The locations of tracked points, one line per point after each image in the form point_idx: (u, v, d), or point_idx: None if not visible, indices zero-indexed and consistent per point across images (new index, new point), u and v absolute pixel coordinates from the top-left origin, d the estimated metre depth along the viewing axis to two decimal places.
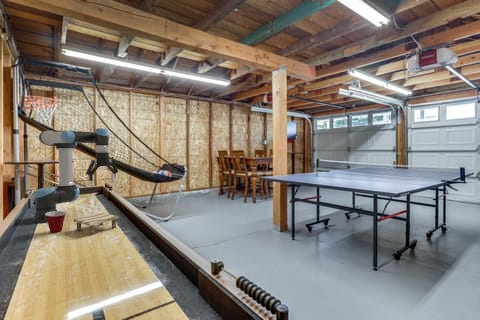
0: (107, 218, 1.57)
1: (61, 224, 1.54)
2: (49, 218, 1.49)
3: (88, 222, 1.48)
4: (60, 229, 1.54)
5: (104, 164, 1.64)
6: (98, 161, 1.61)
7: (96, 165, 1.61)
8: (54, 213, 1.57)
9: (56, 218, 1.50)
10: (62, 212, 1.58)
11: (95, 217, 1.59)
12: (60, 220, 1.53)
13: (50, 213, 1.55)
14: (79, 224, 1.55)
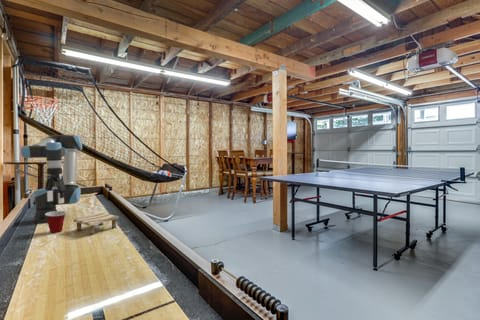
0: (107, 218, 1.57)
1: (61, 224, 1.54)
2: (49, 218, 1.49)
3: (88, 222, 1.48)
4: (60, 229, 1.54)
5: None
6: (50, 177, 1.53)
7: None
8: (54, 213, 1.57)
9: (56, 218, 1.50)
10: (62, 212, 1.58)
11: (95, 217, 1.59)
12: (60, 220, 1.53)
13: (50, 213, 1.55)
14: (79, 224, 1.55)
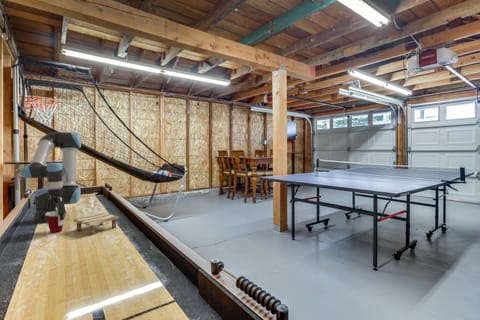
0: (107, 218, 1.57)
1: None
2: (49, 218, 1.49)
3: (88, 222, 1.48)
4: (60, 229, 1.54)
5: None
6: (51, 197, 1.54)
7: None
8: (54, 213, 1.57)
9: (56, 218, 1.50)
10: None
11: (95, 217, 1.59)
12: None
13: (50, 213, 1.55)
14: (79, 224, 1.55)
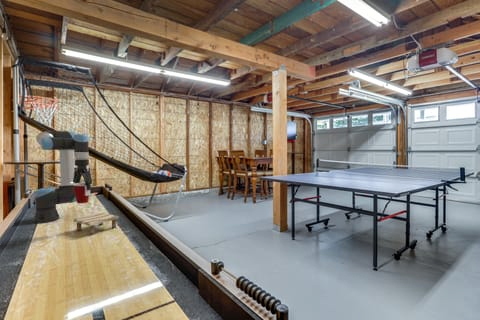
0: (107, 218, 1.57)
1: None
2: (76, 188, 1.51)
3: (88, 222, 1.48)
4: (86, 200, 1.55)
5: (80, 172, 1.54)
6: None
7: None
8: (80, 184, 1.59)
9: (82, 188, 1.52)
10: None
11: (95, 217, 1.59)
12: None
13: (76, 184, 1.57)
14: (79, 224, 1.55)
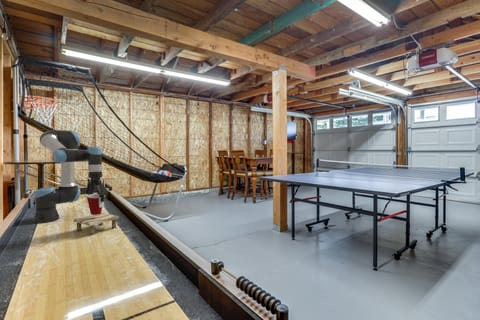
0: (107, 218, 1.57)
1: None
2: (90, 200, 1.53)
3: (88, 222, 1.48)
4: (100, 211, 1.58)
5: None
6: (91, 180, 1.58)
7: None
8: (93, 196, 1.61)
9: (96, 200, 1.54)
10: None
11: (95, 217, 1.59)
12: None
13: (90, 196, 1.59)
14: (79, 224, 1.55)
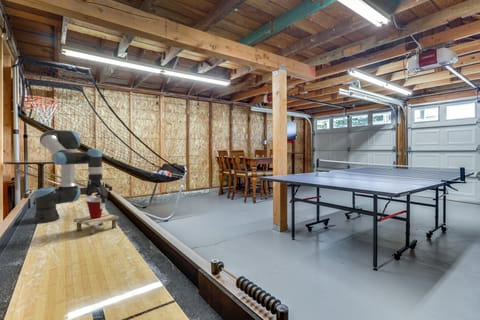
0: (107, 218, 1.57)
1: (101, 210, 1.58)
2: (90, 204, 1.53)
3: (88, 222, 1.48)
4: (100, 215, 1.58)
5: (94, 186, 1.56)
6: (91, 183, 1.58)
7: None
8: (93, 200, 1.61)
9: (96, 204, 1.55)
10: None
11: None
12: None
13: (89, 199, 1.59)
14: (79, 224, 1.55)
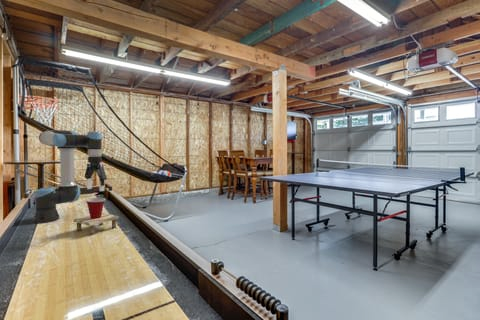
0: (107, 218, 1.57)
1: (101, 210, 1.58)
2: (90, 204, 1.53)
3: (88, 222, 1.48)
4: (100, 215, 1.58)
5: (93, 169, 1.56)
6: (90, 165, 1.58)
7: None
8: (93, 200, 1.61)
9: (96, 204, 1.55)
10: (100, 199, 1.63)
11: None
12: (100, 206, 1.57)
13: (89, 199, 1.59)
14: (79, 224, 1.55)
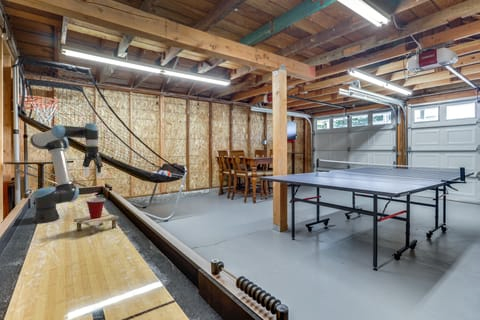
0: (107, 218, 1.57)
1: (101, 210, 1.58)
2: (90, 204, 1.53)
3: (88, 222, 1.48)
4: (100, 215, 1.58)
5: (91, 158, 1.71)
6: (88, 154, 1.73)
7: None
8: (93, 200, 1.61)
9: (96, 204, 1.55)
10: (100, 199, 1.63)
11: None
12: (100, 206, 1.57)
13: (89, 199, 1.59)
14: (79, 224, 1.55)
